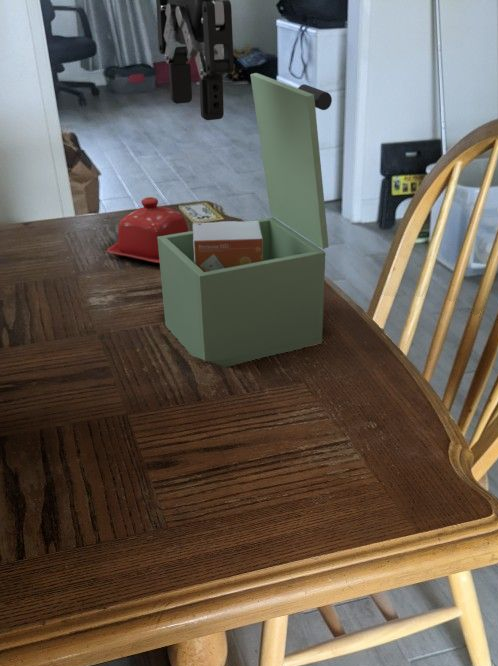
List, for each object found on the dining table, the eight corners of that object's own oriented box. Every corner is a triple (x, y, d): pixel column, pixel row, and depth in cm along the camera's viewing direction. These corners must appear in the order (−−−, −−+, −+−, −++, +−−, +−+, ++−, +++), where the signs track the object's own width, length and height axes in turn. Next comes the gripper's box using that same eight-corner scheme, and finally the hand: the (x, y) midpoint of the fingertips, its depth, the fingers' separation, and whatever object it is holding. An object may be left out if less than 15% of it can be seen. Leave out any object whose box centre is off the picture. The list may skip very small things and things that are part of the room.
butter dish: (102, 258, 121) (95, 202, 116) (147, 235, 129) (142, 182, 124) (163, 271, 117) (157, 214, 112) (205, 247, 125) (202, 193, 120)
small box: (199, 344, 96) (192, 240, 88) (198, 321, 101) (191, 221, 93) (264, 341, 97) (263, 237, 89) (260, 318, 102) (258, 219, 94)
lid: (307, 96, 80) (351, 83, 81) (250, 74, 90) (289, 63, 91) (322, 249, 90) (361, 235, 92) (270, 214, 100) (305, 202, 102)
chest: (205, 372, 92) (199, 276, 85) (165, 326, 102) (157, 236, 95) (322, 344, 98) (325, 252, 91) (273, 303, 108) (273, 217, 101)
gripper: (124, -82, 76) (140, 100, 85) (177, -78, 66) (188, 129, 75) (196, -82, 78) (203, 95, 88) (257, -79, 68) (258, 121, 78)
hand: (196, 110), depth 82 cm, fingers open, 8 cm apart
